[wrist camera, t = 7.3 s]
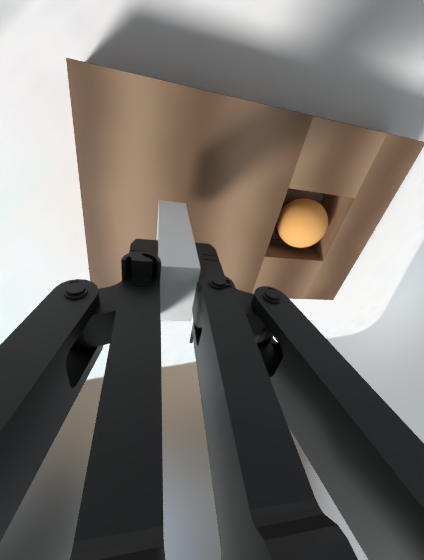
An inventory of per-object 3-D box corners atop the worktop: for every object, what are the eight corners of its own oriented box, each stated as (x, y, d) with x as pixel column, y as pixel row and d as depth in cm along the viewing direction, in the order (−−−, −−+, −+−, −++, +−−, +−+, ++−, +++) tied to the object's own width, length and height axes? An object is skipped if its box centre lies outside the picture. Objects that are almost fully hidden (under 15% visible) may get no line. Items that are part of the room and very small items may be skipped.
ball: (290, 188, 22) (278, 199, 19) (338, 199, 21) (334, 213, 18) (277, 230, 24) (266, 246, 21) (320, 243, 23) (314, 262, 20)
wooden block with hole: (99, 267, 23) (91, 291, 20) (83, 63, 15) (66, 57, 12) (315, 279, 28) (333, 299, 25) (388, 135, 20) (425, 142, 17)
